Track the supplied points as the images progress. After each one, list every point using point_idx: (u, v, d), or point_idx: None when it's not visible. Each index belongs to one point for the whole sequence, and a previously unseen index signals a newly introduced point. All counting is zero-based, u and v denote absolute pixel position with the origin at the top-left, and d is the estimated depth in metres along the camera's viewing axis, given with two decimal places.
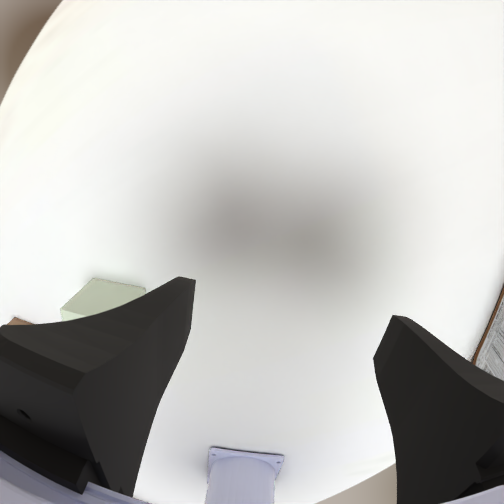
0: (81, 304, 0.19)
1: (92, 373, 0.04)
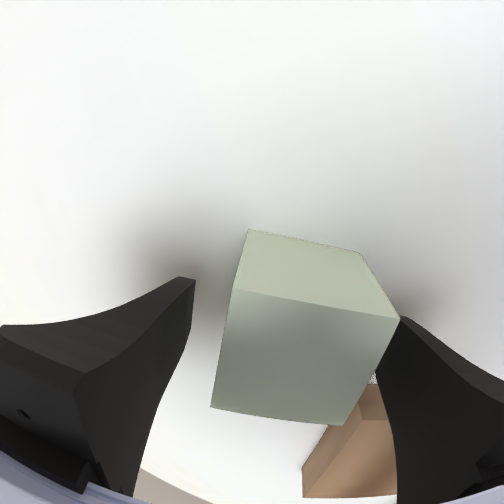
0: None
1: (92, 373, 0.04)
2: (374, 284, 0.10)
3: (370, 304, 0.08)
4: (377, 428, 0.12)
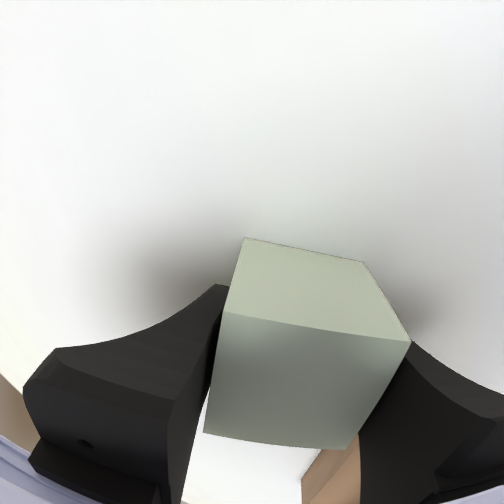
0: None
1: (177, 398, 0.04)
2: (382, 300, 0.09)
3: (378, 325, 0.07)
4: None
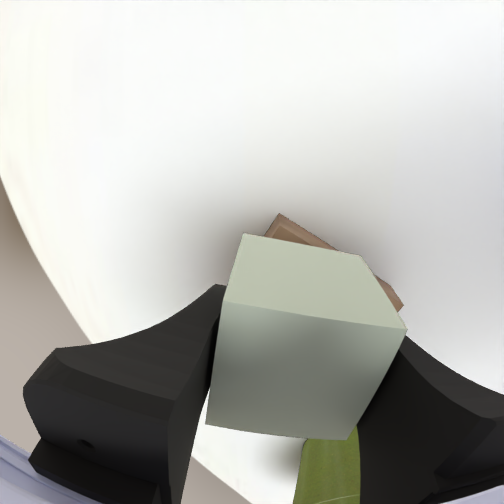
0: None
1: (178, 398, 0.04)
2: (378, 290, 0.09)
3: (374, 314, 0.07)
4: None
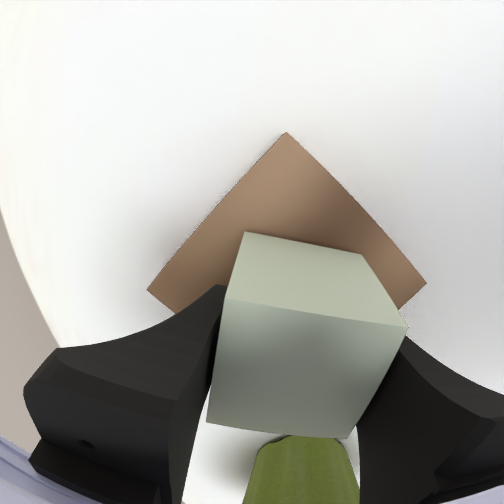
0: None
1: (179, 399, 0.04)
2: (379, 288, 0.09)
3: (376, 312, 0.07)
4: (297, 165, 0.11)
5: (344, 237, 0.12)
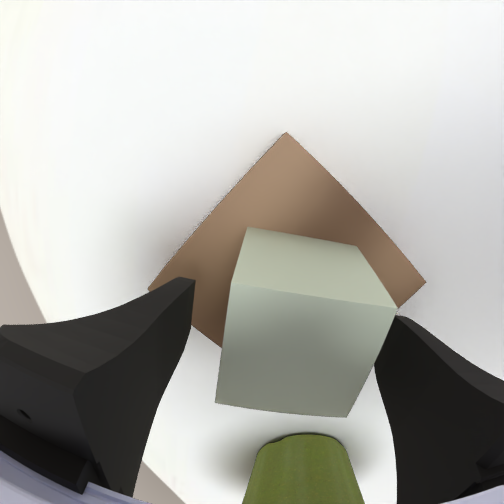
0: None
1: (92, 373, 0.04)
2: (371, 275, 0.10)
3: (367, 295, 0.08)
4: (297, 165, 0.12)
5: (344, 237, 0.12)
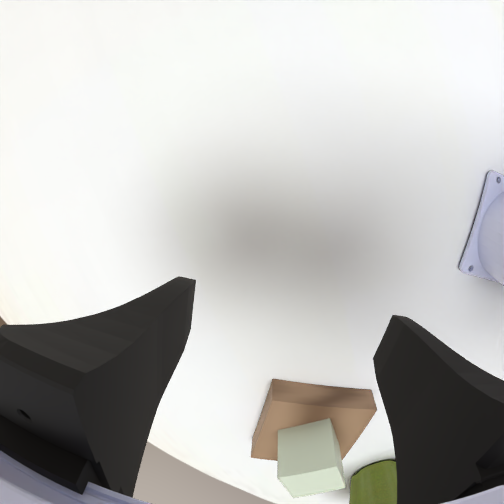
0: None
1: (92, 373, 0.04)
2: (331, 446, 0.20)
3: (325, 463, 0.19)
4: (284, 407, 0.23)
5: (322, 417, 0.23)
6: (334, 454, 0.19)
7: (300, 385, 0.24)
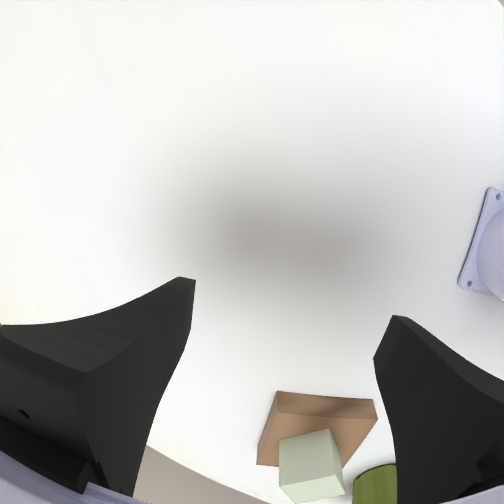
0: None
1: (92, 373, 0.04)
2: (330, 455, 0.21)
3: (324, 471, 0.19)
4: (288, 418, 0.23)
5: (325, 426, 0.23)
6: (333, 463, 0.20)
7: (303, 396, 0.25)
